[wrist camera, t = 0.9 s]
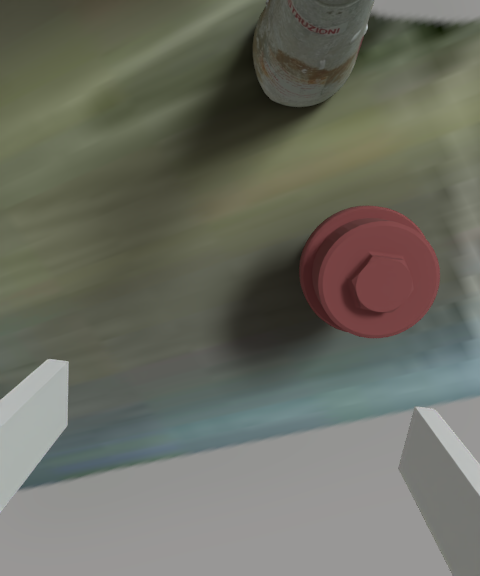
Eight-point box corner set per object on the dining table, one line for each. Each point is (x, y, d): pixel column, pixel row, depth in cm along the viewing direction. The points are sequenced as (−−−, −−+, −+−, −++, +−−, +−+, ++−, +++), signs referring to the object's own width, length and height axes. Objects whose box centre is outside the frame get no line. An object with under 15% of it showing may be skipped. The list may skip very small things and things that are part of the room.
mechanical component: (408, 283, 39) (311, 319, 40) (377, 185, 37) (276, 226, 38) (477, 325, 27) (336, 375, 28) (437, 184, 25) (286, 244, 26)
